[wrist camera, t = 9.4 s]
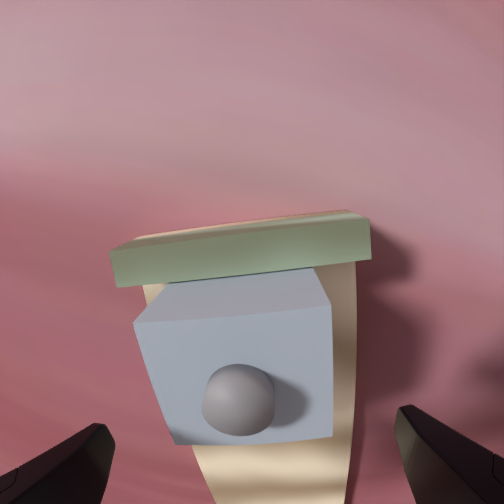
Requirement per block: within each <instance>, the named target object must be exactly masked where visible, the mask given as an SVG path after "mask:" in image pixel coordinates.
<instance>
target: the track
mask: <svg viewBox="0 0 504 504" xmlns="http://www.w3.org/2000/svg"><path fill="white" fill-rule="evenodd" d="M109 255H110V260H111V264H112V269H113V273H114V277H115V282H116V286H117V288H118V287H129V286H139V285H143V290H144V294H145V298H146V302H147V306H148V305H149V304H150V303H151V302H152V301H153V300H154V299H155V297H156V296H157V295H158V294H159V293H160V292H161V291H162V290H163V289H164V288H165V286H166V285H167V284H168V283H170V282H180V281H190V280H199V279H209V278H218V277H227V276H236V275H245V274H254V273H263V272H272V271H280V270H289V269H297V268H305V267H313V269H314V271H315V273H316V275H317V277H318V279H319V281H320V283H321V285H322V287H323V289H324V291H325V293H326V295H327V297H328V299H329V301H330V303H331V312H332V339H333V436H331V437H325V438H318V439H310V440H302V441H293V442H282V443H270V444H254V445H217V446H213V445H191V446H192V448H193V451H194V453H195V456H196V458H197V461H198V463H199V466H200V468H201V471H202V473H203V475H204V478H205V480H206V482H207V485H208V487H209V489H210V491H211V494H212V496H213V498H214V500H215V502H216V504H344V499H345V493H346V486H347V478H348V470H349V462H350V453H351V443H352V432H353V419H354V405H355V386H356V358H357V296H356V267H355V261H361V260H368V259H371V238H370V222H369V219H368V218H365V217H363V216H361V215H358V214H356V213H353V212H351V211H348V210H339V211H329V212H320V213H311V214H302V215H294V216H285V217H277V218H268V219H260V220H252V221H244V222H236V223H229V224H221V225H214V226H206V227H199V228H192V229H185V230H177V231H171V232H164V233H157V234H150V235H144V236H140V237H138V238H135V239H133V240H131V241H129V242H127V243H125V244H123V245H121V246H119V247H117V248H115V249H113V250H111V251H109Z"/></svg>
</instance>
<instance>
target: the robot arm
mask: <svg viewBox="0 0 504 504" xmlns="http://www.w3.org/2000/svg"><path fill="white" fill-rule="evenodd" d="M395 435H396V439H397V443H398V446H399V450H400V454H401V458H402V463H403V467H404V471H405V474H406V477H407V479H408V482H409V485H410V487H411V490H412V493H413V495H414V498H415V501H416V503H417V504H504V458H502V457H501V456H499V455H497V454H493V452H491V451H490V450H488V449H486V448H484V447H483V446H481V445H479V444H477V443H476V442H474V441H472V440H470V439H469V438H467V437H465V436H464V435H462V434H460V433H459V432H457V431H455V430H453V429H452V428H450V427H448V426H447V425H445V424H443V423H442V422H440V421H438V420H437V419H435V418H433V417H432V416H430V415H428V414H427V413H425V412H424V411H422V410H420V409H419V408H417V407H415V406H414V405H411V404H410V405H406V406H402V407H399V408H398V411H397V416H396V421H395ZM114 451H115V441H114V439H113V437H112V435H111V433H110V431H109V429H108V427H107V426H106V425H105V424H100V423H93V424H91V425H90V426H88V427H86V428H85V429H83V430H81V431H80V432H78V433H76V434H75V435H73V436H71V437H70V438H68V439H66V440H65V441H63V442H61V443H60V444H58V445H56V446H55V447H53V448H51V449H49V450H48V451H46V452H44V453H42V454H41V455H39V456H37V457H35V458H34V459H32V460H30V461H28V462H26V463H25V464H23V465H21V466H19V468H15V469H14V470H12V471H10V472H8V473H6V474H4V475H2V476H0V504H101V501H102V498H103V495H104V492H105V489H106V485H107V482H108V478H109V473H110V469H111V464H112V460H113V455H114Z"/></svg>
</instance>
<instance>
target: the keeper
mask: <svg viewBox="0 0 504 504" xmlns="http://www.w3.org/2000/svg"><path fill="white" fill-rule="evenodd" d="M133 326H134V329H135V333H136V336H137V340H138V343H139V346H140V350H141V353H142V356H143V359H144V362H145V365H146V368H147V371H148V374H149V377H150V380H151V383H152V386H153V389H154V392H155V394H156V397H157V400H158V402H159V405H160V408H161V410H162V413H163V416H164V418H165V421H166V423H167V426H168V428H169V431H170V433H171V436H172V438H173V440H174V443H175V444H177V445H213V446H217V445H254V444H270V443H282V442H293V441H302V440H310V439H318V438H325V437H331V436H333V339H332V312H331V303H330V301H329V299H328V297H327V295H326V293H325V291H324V289H323V287H322V285H321V283H320V281H319V279H318V277H317V275H316V273H315V271H314V269H313V267H305V268H297V269H289V270H280V271H272V272H263V273H254V274H245V275H236V276H227V277H218V278H209V279H199V280H190V281H180V282H170V283H168V284H167V285H166V286H165V288H164V289H163V290H162V291H161V292H160V293H159V294H158V295H157V296H156V297H155V299H154V300H153V301H152V302H151V303H150V304H149V305H148V306H147V307H146V309H145V310H144V311H143V312H142V313H141V314H140V315H139V316H138V318H137V319H136V320H135V321H134V322H133Z"/></svg>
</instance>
